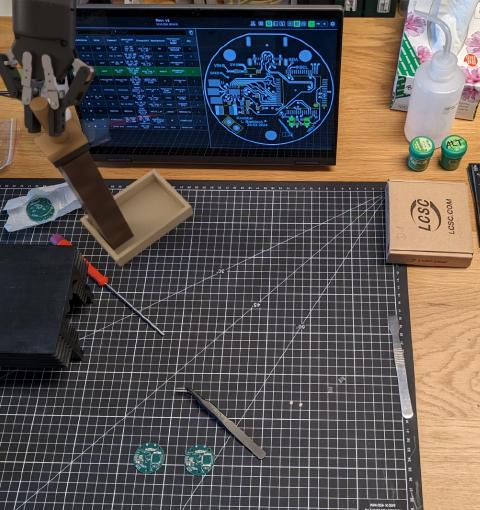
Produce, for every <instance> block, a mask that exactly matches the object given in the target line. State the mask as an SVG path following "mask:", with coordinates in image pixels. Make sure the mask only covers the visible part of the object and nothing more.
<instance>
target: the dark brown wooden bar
mask: <svg viewBox="0 0 480 510" xmlns="http://www.w3.org/2000/svg"><path fill="white" fill-rule="evenodd" d="M57 170H58V172H59V174H60V175H61V176H62V177H63V179H64V181H65V183H66V184H67V185H68V187H69V189H70V190H71V192H72V194H73V195H74V196H75V198H76V200H77V201H78V203H79V204H80V206H81V207H82V209H83V211H84V212H85V215H88V217H89V218H90V220H91V222H92V223H93V225H94V226H95V228H96V229H97V231H98V233H99V234H100V236H101V237H102V238H103V239H104V240H105V241H106V242H107V243H108V245H109V246H110V247H111V248H112V249H113V250H115V249H117V248H118V247H119V246H121V245H122V244H124V243H125V242H126V241H128V240H129V239H131V238H132V237H133V236H134V235H133V233H132V231H131V229H130V227H129V225H128V224H127V222H126V220H125V218H124V216H123V214H122V212H121V211H120V209H119V207H118V205H117V203H116V201H115V199H114V198H113V196H114V195H113V193H112V192H111V190H110V188H109V187H108V185H107V183H106V181H105V179H104V177H103V175H102V173H101V172H100V170H99V168H98V165H97V164H96V162H95V160H94V158H93V156H92V155H91V153H90V151H89V149H88V150H87V151H85V152H83V153H82V154H80V155H78V156H77V157H75V158H73V159H72V160H70V161H68V162H67V163H65V164H63V165H61V166H60V167H58V168H57Z"/></svg>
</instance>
